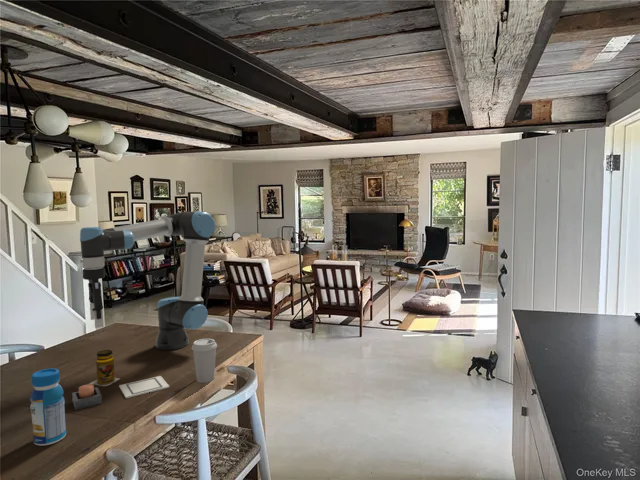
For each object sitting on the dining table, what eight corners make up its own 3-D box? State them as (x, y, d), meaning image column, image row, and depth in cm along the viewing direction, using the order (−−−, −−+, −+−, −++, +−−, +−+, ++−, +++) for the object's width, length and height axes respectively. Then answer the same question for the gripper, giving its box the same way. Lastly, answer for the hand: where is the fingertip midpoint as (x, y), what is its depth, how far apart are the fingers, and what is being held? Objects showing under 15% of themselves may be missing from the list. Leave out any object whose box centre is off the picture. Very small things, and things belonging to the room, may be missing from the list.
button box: (98, 395, 155) (97, 387, 155) (101, 403, 148) (101, 394, 148) (72, 401, 150) (72, 392, 150) (75, 410, 144) (74, 401, 144)
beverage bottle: (62, 444, 123) (57, 376, 122) (28, 449, 121) (23, 379, 119) (70, 429, 131) (66, 365, 130) (38, 433, 129) (33, 368, 127)
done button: (93, 391, 152) (92, 383, 152) (95, 395, 149) (94, 387, 148) (78, 394, 150) (77, 386, 150) (79, 399, 146) (79, 390, 146)
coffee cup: (208, 386, 161) (207, 346, 160) (187, 382, 165) (185, 344, 163) (223, 376, 170) (221, 339, 169) (202, 373, 174) (201, 336, 172)
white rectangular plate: (160, 377, 170) (160, 375, 170) (169, 387, 161) (169, 385, 160) (119, 387, 162) (119, 385, 162) (125, 398, 152) (125, 396, 152)
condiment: (106, 386, 162) (104, 355, 161) (88, 384, 165) (86, 353, 164) (120, 379, 169) (119, 349, 168) (103, 376, 172) (101, 347, 171)
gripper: (79, 265, 172) (82, 317, 174) (85, 273, 151) (89, 332, 153) (100, 263, 176) (103, 314, 178) (109, 271, 155) (112, 328, 157)
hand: (96, 323), depth 165 cm, fingers open, 13 cm apart
